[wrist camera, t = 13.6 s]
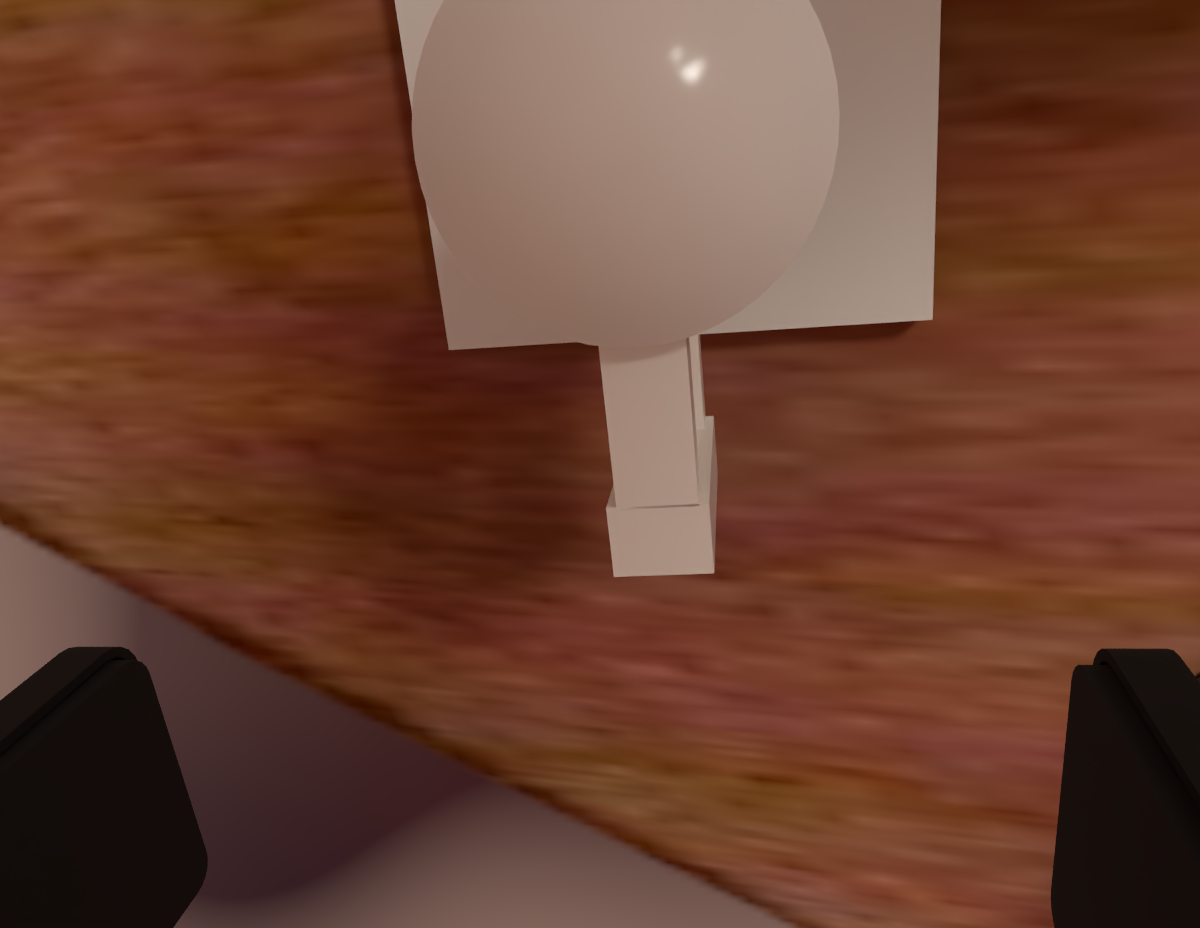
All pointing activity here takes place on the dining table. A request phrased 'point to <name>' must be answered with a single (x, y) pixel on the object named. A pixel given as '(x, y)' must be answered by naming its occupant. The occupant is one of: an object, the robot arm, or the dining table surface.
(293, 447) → the dining table surface
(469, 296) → the tile
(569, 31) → the capsule with loop handle
